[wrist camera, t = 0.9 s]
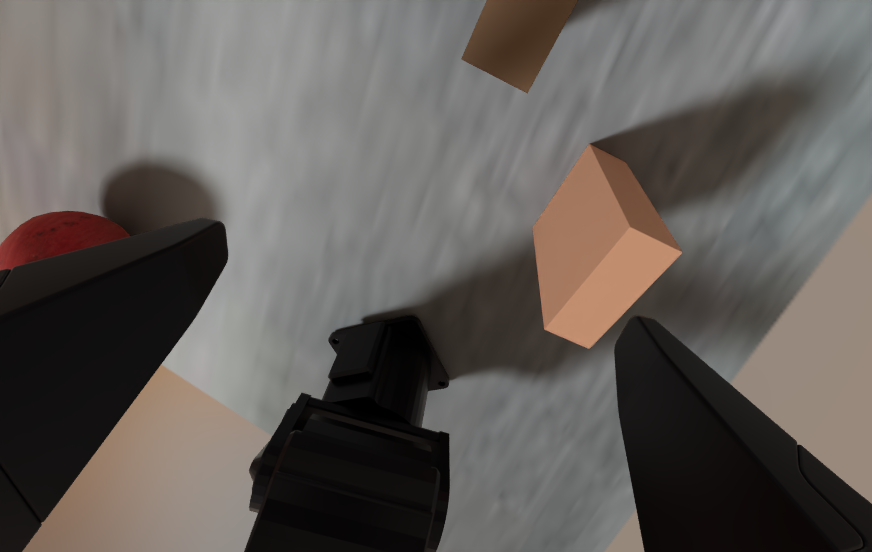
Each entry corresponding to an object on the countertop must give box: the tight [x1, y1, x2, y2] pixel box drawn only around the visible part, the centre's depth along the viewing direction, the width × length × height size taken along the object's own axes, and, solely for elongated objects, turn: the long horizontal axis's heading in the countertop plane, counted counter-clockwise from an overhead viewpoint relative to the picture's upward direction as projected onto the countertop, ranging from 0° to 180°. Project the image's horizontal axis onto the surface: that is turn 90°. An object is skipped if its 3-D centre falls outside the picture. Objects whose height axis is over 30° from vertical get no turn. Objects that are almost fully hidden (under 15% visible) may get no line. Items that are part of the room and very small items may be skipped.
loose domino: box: [533, 144, 683, 349], centre depth 19 cm, size 2×5×8 cm, turn 156°
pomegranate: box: [0, 211, 130, 270], centre depth 23 cm, size 6×6×8 cm
